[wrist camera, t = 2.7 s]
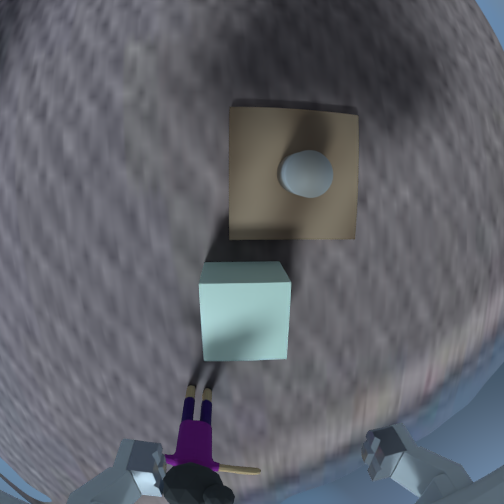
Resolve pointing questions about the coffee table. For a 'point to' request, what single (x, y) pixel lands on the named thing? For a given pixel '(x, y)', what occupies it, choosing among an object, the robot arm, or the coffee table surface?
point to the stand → (292, 174)
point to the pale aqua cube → (244, 310)
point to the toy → (197, 460)
